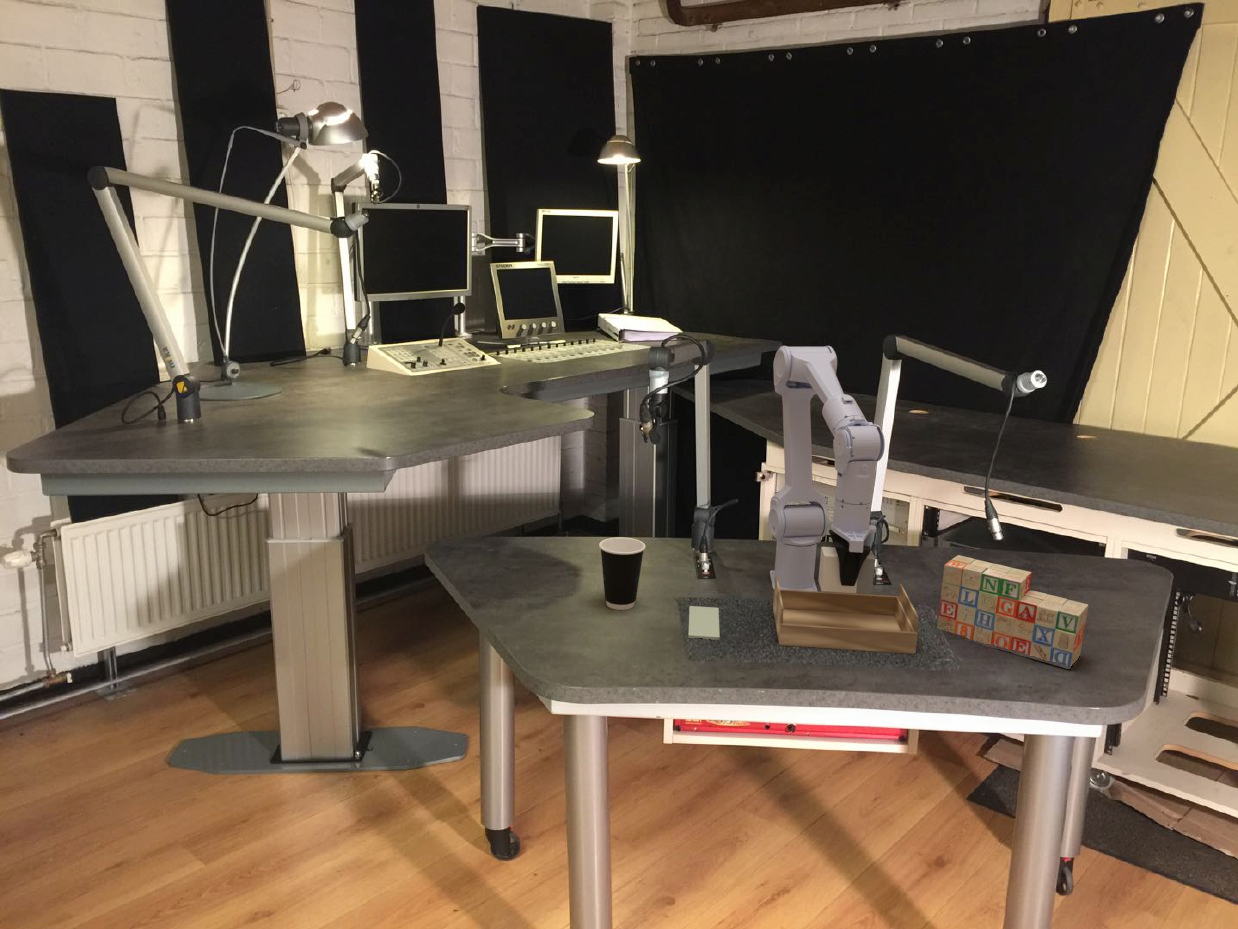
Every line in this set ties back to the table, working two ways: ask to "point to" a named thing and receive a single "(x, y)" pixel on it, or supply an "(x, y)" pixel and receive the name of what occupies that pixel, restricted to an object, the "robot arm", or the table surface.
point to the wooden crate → (845, 620)
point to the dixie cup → (621, 570)
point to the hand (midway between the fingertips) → (845, 579)
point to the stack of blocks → (1009, 611)
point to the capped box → (831, 574)
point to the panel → (704, 622)
